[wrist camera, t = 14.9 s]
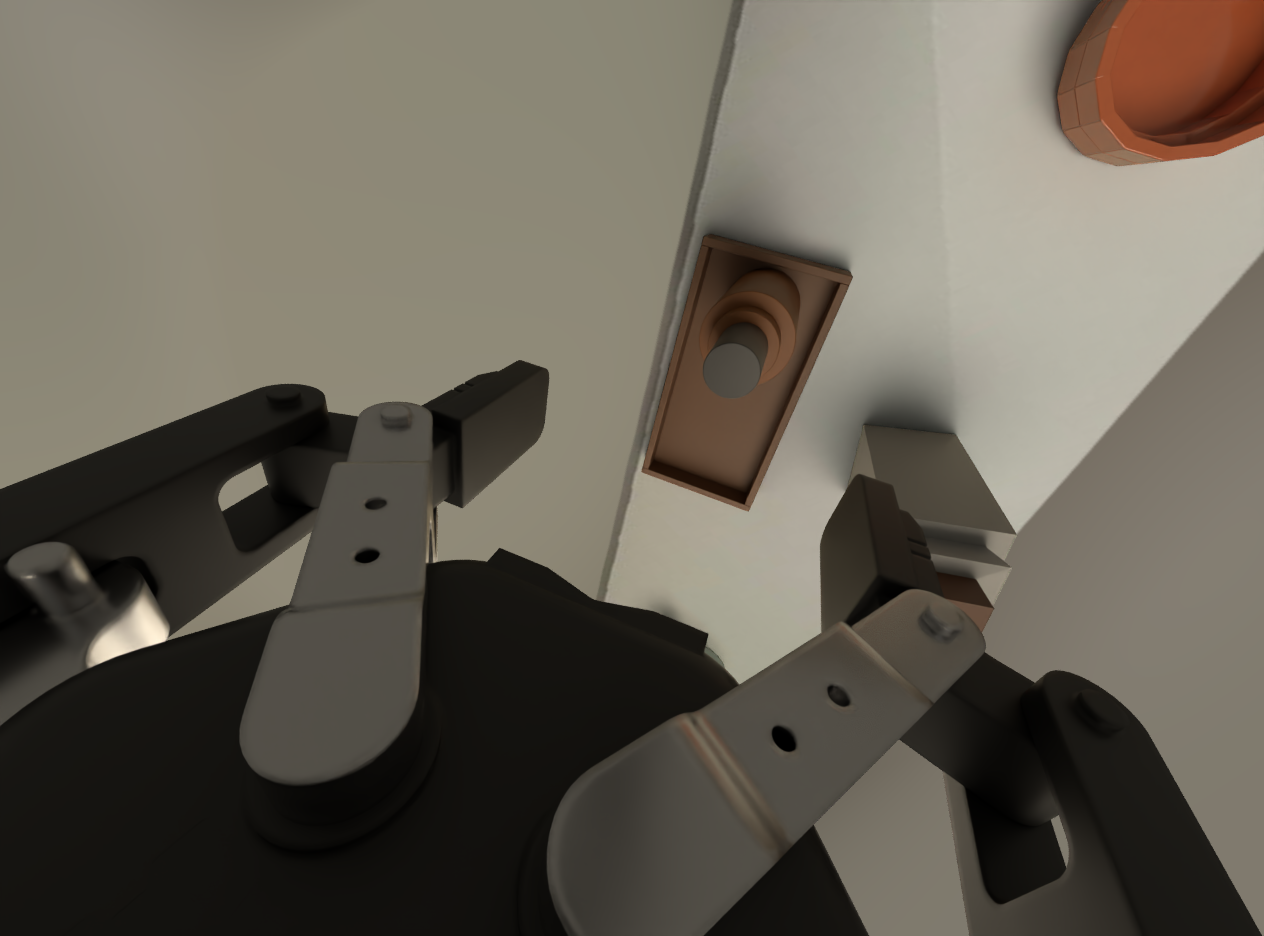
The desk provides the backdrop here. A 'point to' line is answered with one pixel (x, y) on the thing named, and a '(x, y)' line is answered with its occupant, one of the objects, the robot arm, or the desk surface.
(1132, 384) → the desk surface
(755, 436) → the tray
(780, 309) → the bottle
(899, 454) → the perfume bottle
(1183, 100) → the bowl
